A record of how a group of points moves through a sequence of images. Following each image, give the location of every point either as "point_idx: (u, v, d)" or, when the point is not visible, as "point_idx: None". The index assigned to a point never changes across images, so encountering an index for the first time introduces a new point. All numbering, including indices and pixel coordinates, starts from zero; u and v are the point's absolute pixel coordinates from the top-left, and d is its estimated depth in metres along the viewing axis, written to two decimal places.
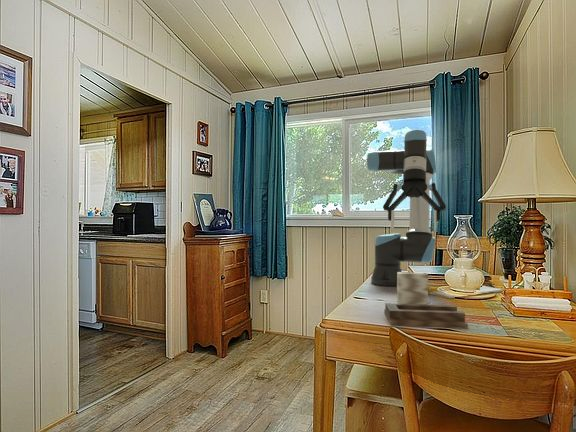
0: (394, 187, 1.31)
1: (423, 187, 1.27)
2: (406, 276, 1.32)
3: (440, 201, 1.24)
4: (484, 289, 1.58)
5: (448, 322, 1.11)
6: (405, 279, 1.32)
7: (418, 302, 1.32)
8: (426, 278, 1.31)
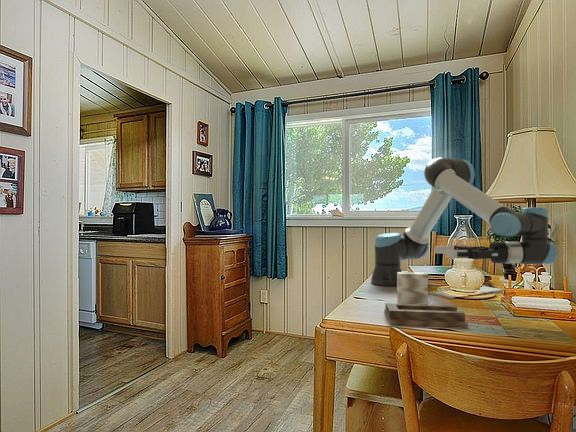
0: (493, 258, 1.24)
1: None
2: (406, 276, 1.32)
3: None
4: (484, 289, 1.59)
5: (448, 322, 1.11)
6: (405, 279, 1.32)
7: (418, 302, 1.32)
8: (426, 278, 1.31)
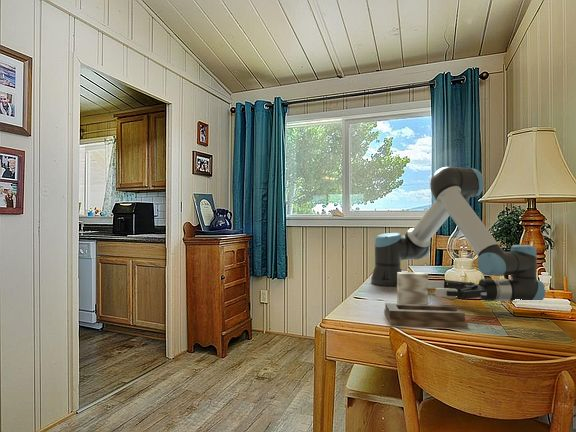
0: None
1: None
2: (406, 276, 1.32)
3: None
4: None
5: (448, 322, 1.11)
6: (405, 279, 1.32)
7: (418, 302, 1.32)
8: (426, 278, 1.31)
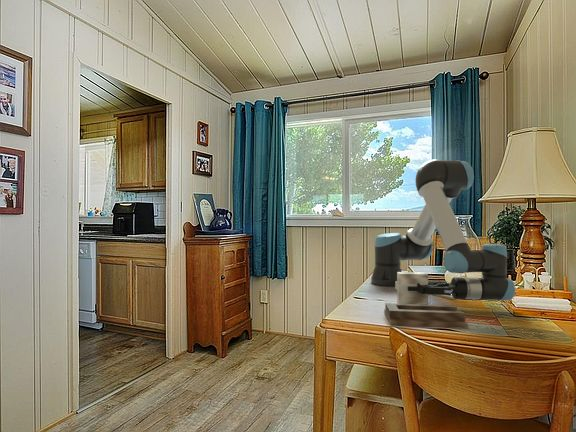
0: None
1: None
2: (406, 276, 1.32)
3: None
4: None
5: (448, 322, 1.11)
6: (405, 279, 1.32)
7: (418, 302, 1.32)
8: (426, 278, 1.31)
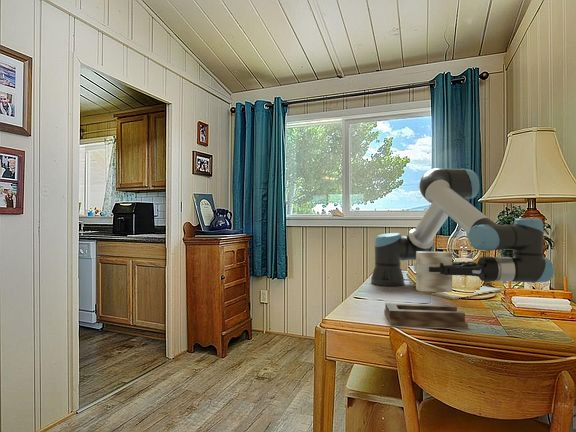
0: (474, 275, 1.10)
1: None
2: (427, 255, 1.15)
3: None
4: (483, 289, 1.59)
5: (448, 322, 1.11)
6: (426, 259, 1.15)
7: (441, 285, 1.15)
8: (450, 257, 1.15)
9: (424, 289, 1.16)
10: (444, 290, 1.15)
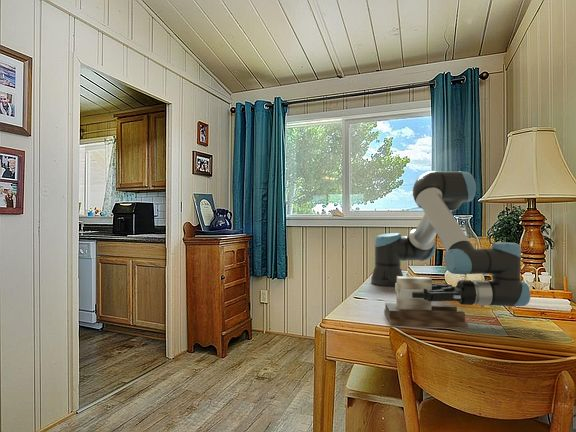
0: None
1: None
2: (406, 281, 1.16)
3: None
4: None
5: (448, 322, 1.11)
6: (405, 284, 1.16)
7: None
8: (429, 283, 1.16)
9: None
10: None
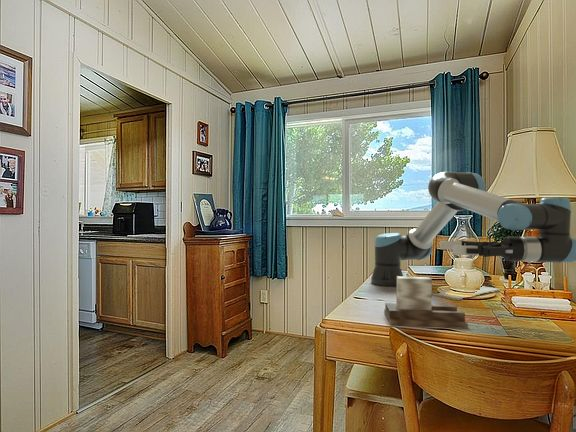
0: None
1: None
2: (406, 281, 1.16)
3: None
4: (483, 289, 1.59)
5: (448, 322, 1.11)
6: (405, 284, 1.16)
7: None
8: (429, 283, 1.16)
9: None
10: None
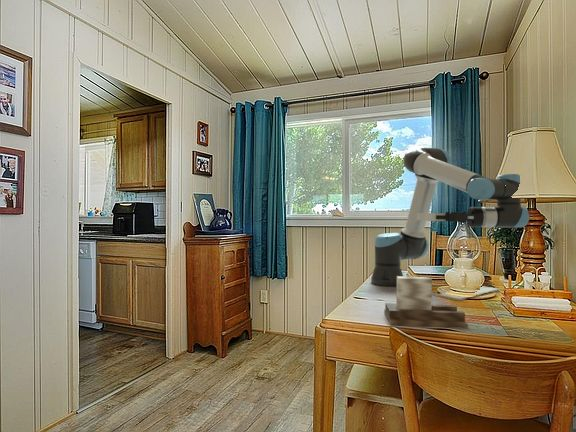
0: (469, 220, 1.32)
1: None
2: (406, 281, 1.16)
3: None
4: (483, 289, 1.59)
5: (448, 322, 1.11)
6: (405, 284, 1.16)
7: None
8: (429, 283, 1.16)
9: None
10: None
